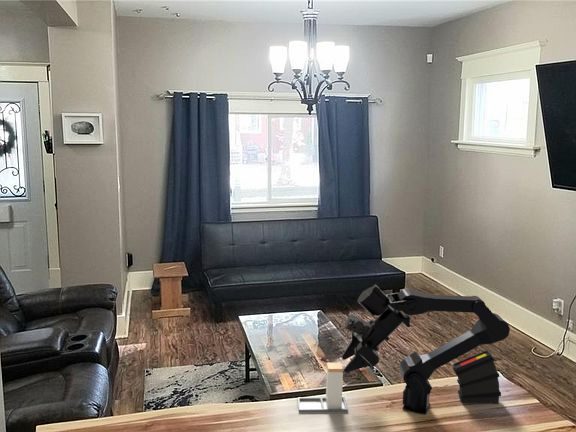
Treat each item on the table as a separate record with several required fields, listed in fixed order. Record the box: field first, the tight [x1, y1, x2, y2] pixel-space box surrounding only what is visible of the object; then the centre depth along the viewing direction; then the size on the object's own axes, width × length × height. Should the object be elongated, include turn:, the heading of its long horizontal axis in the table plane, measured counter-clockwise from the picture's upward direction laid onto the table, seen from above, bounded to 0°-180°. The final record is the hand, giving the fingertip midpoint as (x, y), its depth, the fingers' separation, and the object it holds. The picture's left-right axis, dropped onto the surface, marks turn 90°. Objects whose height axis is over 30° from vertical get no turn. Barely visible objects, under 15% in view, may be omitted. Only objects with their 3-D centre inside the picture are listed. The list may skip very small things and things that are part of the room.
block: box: [325, 362, 344, 409], centre depth 161 cm, size 4×4×12 cm
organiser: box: [296, 396, 349, 414], centre depth 162 cm, size 14×7×2 cm, turn 92°
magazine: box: [452, 350, 502, 405], centre depth 167 cm, size 4×13×15 cm, turn 89°
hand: (343, 364), depth 161 cm, fingers open, 9 cm apart
